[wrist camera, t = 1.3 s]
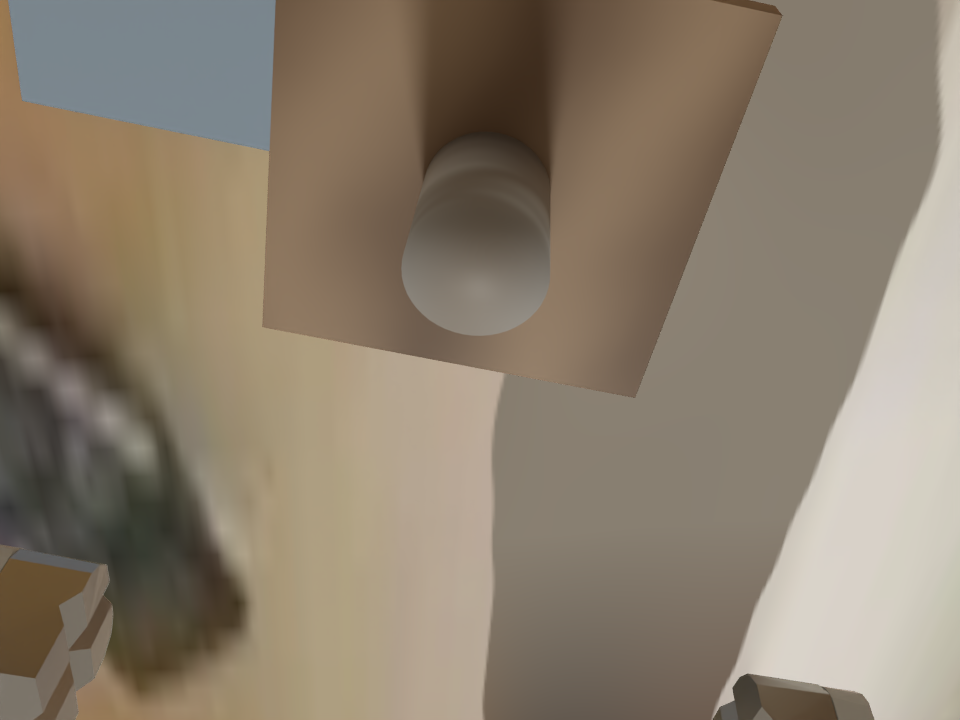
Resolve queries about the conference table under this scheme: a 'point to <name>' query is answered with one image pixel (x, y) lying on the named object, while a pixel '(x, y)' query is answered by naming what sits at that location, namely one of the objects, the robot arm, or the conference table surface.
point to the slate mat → (152, 62)
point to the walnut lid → (500, 173)
